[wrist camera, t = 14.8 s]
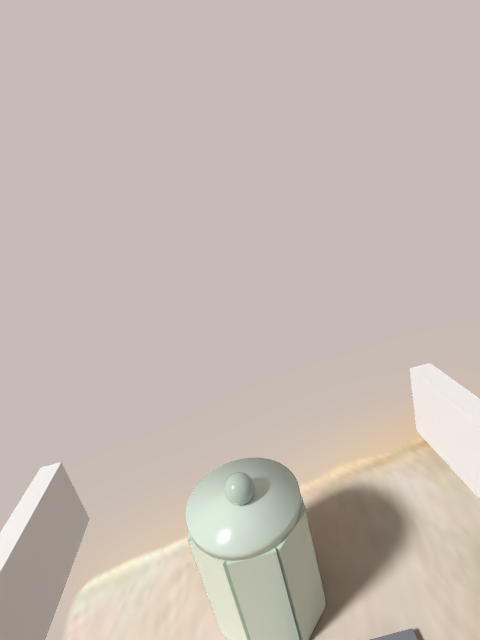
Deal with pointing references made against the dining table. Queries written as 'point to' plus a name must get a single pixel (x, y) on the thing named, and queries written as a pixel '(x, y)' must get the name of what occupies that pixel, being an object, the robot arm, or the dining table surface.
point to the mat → (399, 636)
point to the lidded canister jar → (255, 551)
